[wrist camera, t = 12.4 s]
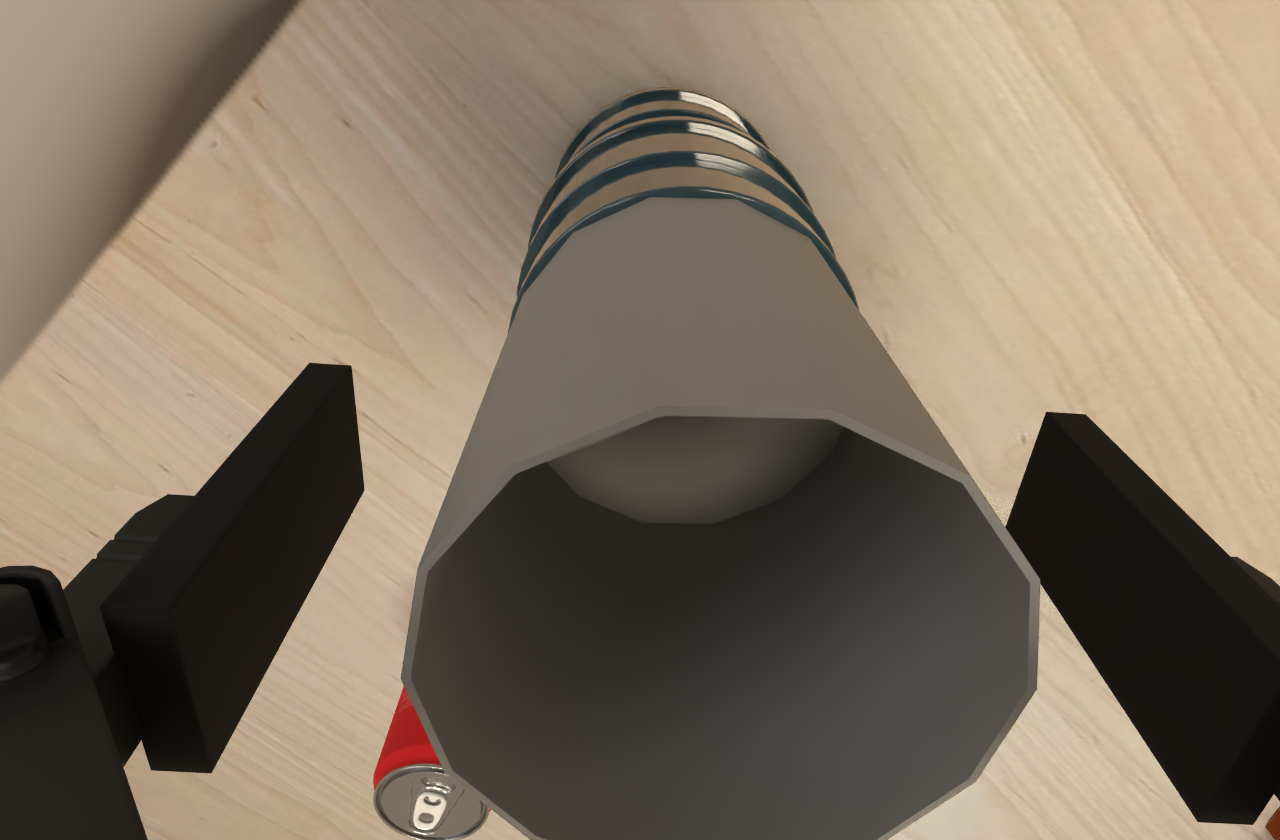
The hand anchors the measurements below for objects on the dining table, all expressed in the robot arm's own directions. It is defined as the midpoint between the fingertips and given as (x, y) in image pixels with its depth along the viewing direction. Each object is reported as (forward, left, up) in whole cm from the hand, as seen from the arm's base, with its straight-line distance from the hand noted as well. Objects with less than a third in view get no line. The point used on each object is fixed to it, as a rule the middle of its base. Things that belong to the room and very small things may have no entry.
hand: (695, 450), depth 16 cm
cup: (0, 0, -5) cm, 5 cm away
